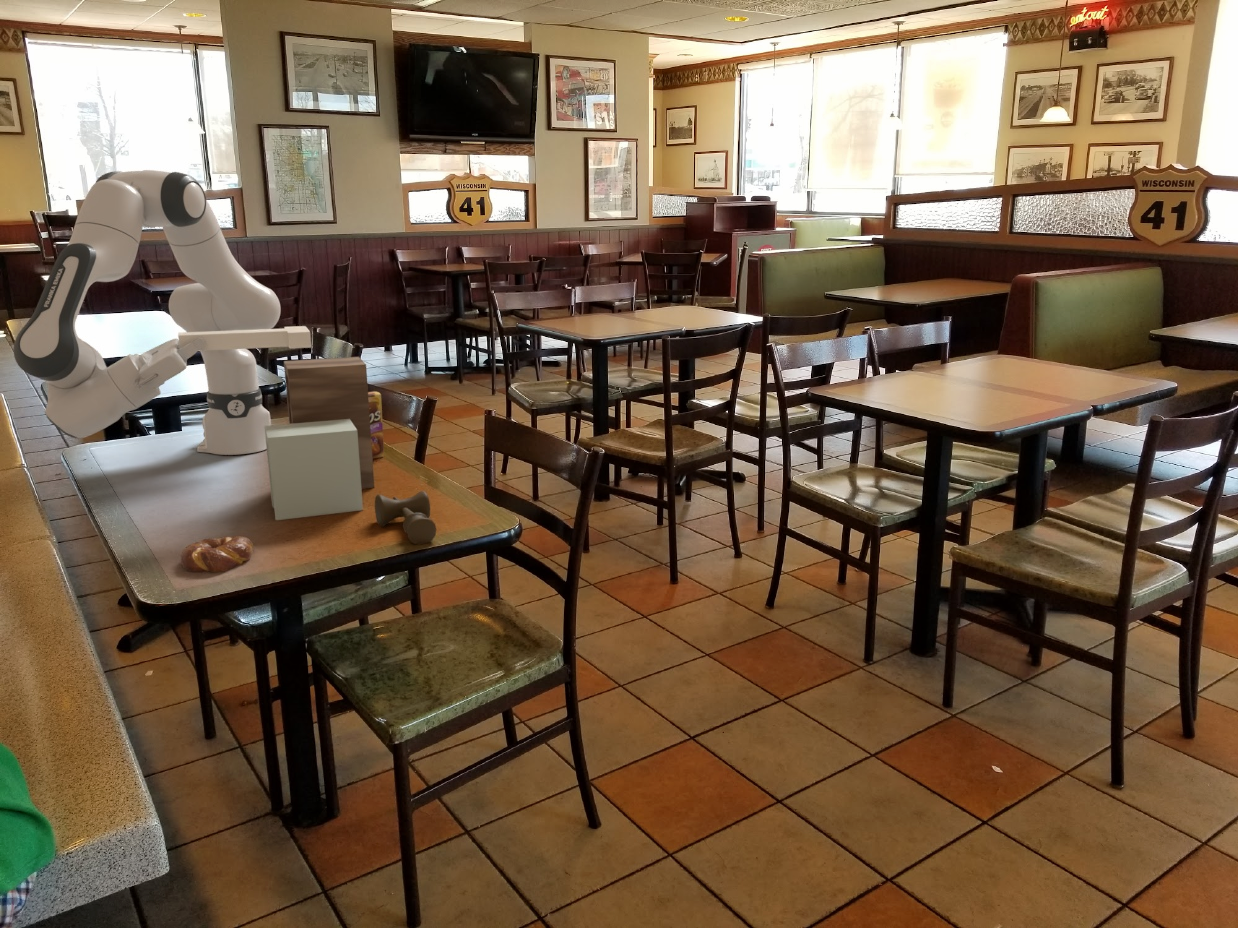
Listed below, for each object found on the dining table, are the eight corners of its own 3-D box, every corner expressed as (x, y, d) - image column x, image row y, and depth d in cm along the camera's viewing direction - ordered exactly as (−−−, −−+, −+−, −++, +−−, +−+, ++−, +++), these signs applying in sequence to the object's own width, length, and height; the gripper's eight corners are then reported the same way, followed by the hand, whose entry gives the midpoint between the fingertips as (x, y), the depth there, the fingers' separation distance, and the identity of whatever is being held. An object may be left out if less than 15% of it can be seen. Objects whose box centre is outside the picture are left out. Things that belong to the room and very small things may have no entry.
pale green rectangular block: (272, 504, 186) (264, 425, 181) (355, 495, 192) (349, 418, 188) (276, 520, 177) (267, 437, 173) (362, 509, 183) (357, 430, 179)
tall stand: (294, 482, 200) (283, 361, 193) (366, 474, 206) (358, 356, 199) (299, 495, 191) (287, 369, 184) (374, 487, 197) (366, 364, 190)
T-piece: (180, 346, 180) (178, 331, 179) (306, 341, 189) (305, 326, 188) (179, 353, 172) (177, 337, 171) (311, 347, 181) (310, 331, 180)
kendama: (396, 552, 164) (369, 515, 181) (449, 545, 168) (418, 509, 185) (395, 519, 162) (368, 485, 179) (449, 513, 166) (418, 480, 183)
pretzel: (235, 545, 166) (233, 525, 165) (269, 560, 159) (267, 539, 158) (167, 563, 157) (165, 542, 156) (200, 580, 150) (197, 558, 149)
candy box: (347, 463, 215) (342, 397, 211) (341, 458, 218) (336, 394, 214) (385, 457, 220) (381, 393, 215) (379, 453, 223) (374, 390, 219)
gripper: (122, 374, 164) (192, 331, 166) (129, 356, 182) (193, 318, 184) (146, 403, 166) (215, 361, 169) (151, 383, 184) (213, 345, 187)
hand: (203, 338), depth 177 cm, fingers closed on T-piece, 4 cm apart
